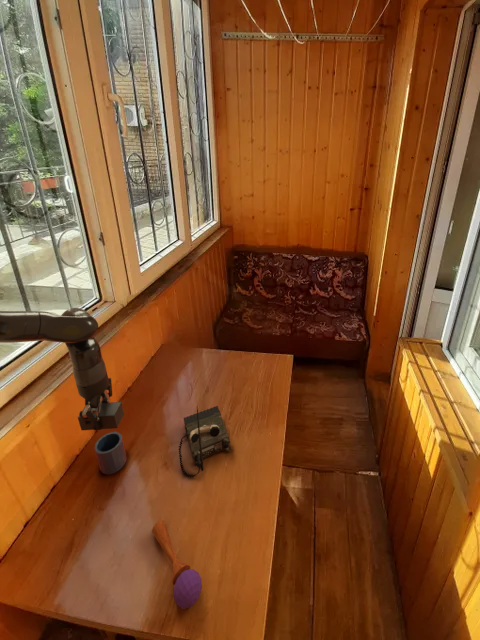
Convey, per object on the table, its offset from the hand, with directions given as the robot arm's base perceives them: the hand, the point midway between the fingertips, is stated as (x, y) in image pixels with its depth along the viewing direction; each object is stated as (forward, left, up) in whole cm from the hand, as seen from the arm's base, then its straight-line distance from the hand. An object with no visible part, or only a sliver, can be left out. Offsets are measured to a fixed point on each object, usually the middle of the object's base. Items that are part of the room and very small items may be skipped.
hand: (102, 420), depth 93 cm
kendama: (+26, -28, -18) cm, 42 cm away
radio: (+28, +2, -18) cm, 33 cm away
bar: (0, 0, -1) cm, 1 cm away
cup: (0, 0, -18) cm, 18 cm away
